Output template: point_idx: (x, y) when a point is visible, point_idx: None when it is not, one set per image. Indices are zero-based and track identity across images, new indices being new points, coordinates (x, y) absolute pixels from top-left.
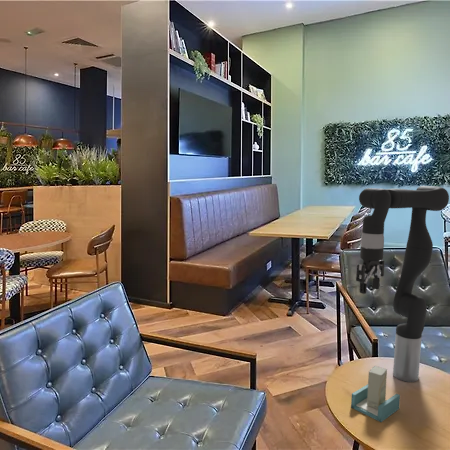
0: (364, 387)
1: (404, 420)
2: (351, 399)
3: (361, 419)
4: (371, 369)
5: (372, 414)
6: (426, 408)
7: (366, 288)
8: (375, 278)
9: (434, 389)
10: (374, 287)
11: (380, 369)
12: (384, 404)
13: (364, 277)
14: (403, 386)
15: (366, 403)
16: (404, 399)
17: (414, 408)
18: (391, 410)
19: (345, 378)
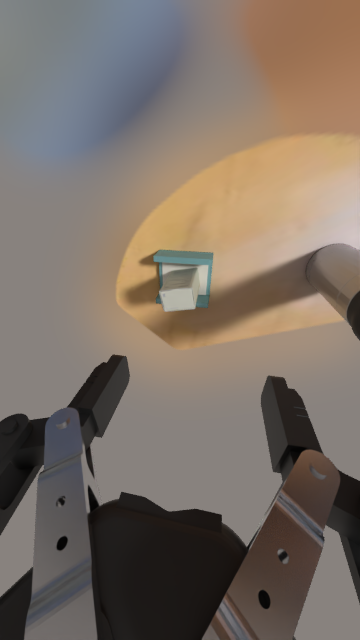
0: (187, 260)
1: (188, 311)
2: (156, 253)
3: (147, 274)
4: (171, 290)
5: (161, 283)
6: (237, 321)
7: (115, 405)
8: (288, 459)
9: (305, 314)
10: (266, 389)
11: (184, 301)
12: None
13: (26, 490)
14: (284, 278)
15: (177, 266)
16: (240, 294)
17: (225, 311)
18: None
19: (243, 182)
